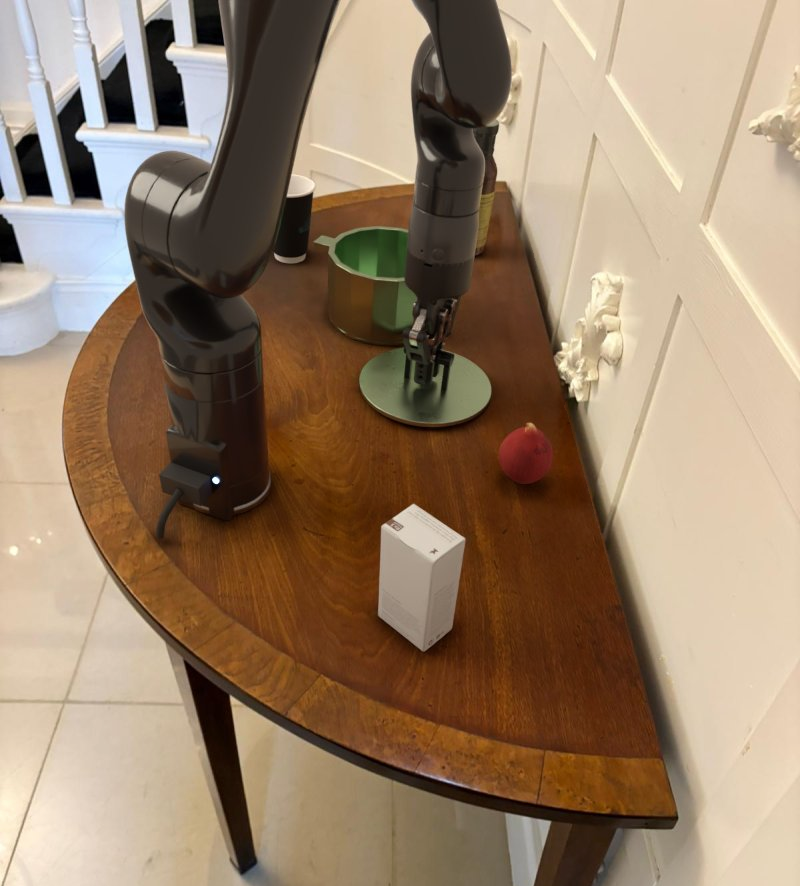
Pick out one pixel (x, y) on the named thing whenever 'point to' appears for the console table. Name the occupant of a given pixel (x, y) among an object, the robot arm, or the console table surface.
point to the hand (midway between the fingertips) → (426, 378)
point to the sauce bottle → (486, 179)
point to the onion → (526, 454)
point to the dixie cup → (295, 221)
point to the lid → (425, 389)
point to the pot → (369, 284)
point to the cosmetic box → (419, 576)
